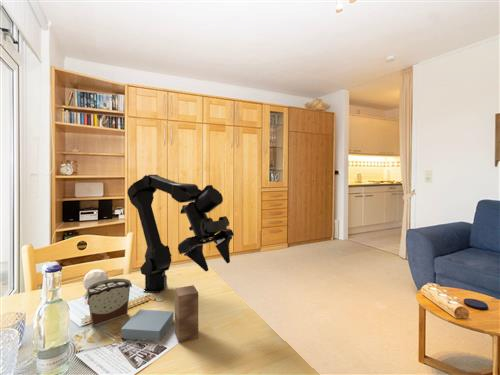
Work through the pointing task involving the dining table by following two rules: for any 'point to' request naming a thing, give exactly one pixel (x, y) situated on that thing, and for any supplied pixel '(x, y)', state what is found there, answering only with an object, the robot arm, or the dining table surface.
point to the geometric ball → (94, 277)
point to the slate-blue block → (147, 325)
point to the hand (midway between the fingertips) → (218, 266)
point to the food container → (108, 300)
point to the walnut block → (186, 313)
